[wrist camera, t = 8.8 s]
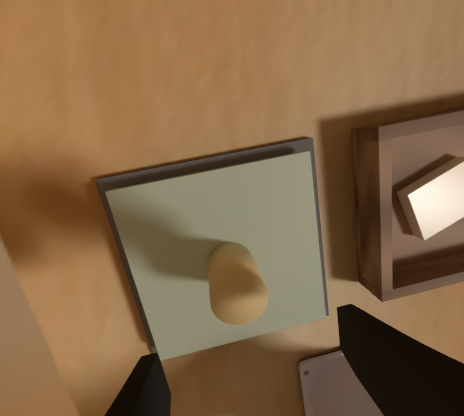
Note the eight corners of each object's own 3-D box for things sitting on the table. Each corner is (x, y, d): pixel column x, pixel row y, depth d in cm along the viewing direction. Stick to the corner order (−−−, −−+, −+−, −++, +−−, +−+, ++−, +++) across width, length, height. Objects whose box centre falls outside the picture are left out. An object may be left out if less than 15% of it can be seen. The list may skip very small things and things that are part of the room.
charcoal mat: (326, 311, 20) (328, 315, 20) (155, 355, 19) (155, 359, 19) (310, 137, 17) (312, 137, 16) (97, 178, 16) (95, 179, 15)
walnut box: (491, 249, 21) (530, 263, 19) (359, 282, 20) (382, 302, 18) (507, 99, 18) (558, 92, 15) (351, 129, 17) (378, 127, 14)
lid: (318, 307, 20) (359, 363, 15) (162, 347, 19) (150, 421, 14) (302, 150, 16) (347, 153, 11) (112, 188, 15) (70, 209, 10)
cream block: (469, 202, 19) (483, 205, 18) (413, 235, 19) (424, 240, 18) (456, 156, 18) (470, 157, 17) (396, 192, 18) (407, 194, 17)
